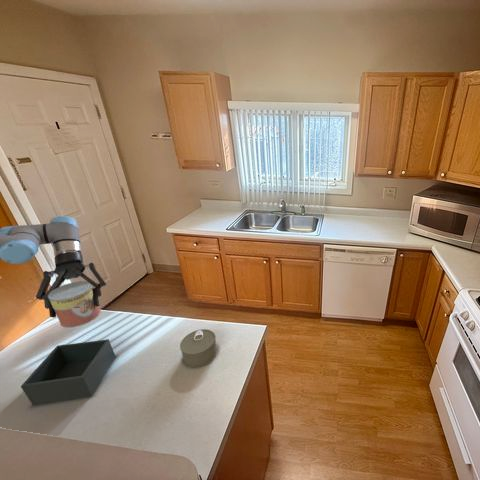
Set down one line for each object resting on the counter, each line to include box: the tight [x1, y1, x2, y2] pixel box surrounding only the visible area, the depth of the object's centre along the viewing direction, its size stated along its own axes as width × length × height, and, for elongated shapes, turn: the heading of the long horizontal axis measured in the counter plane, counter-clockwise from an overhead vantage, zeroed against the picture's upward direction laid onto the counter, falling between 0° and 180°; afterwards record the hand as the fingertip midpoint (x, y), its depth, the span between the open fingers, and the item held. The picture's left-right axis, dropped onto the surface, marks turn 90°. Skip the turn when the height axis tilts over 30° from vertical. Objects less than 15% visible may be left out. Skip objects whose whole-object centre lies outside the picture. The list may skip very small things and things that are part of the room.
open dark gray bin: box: [20, 338, 117, 406], centre depth 84 cm, size 15×15×9 cm
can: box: [179, 328, 218, 368], centre depth 95 cm, size 12×12×7 cm
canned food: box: [48, 280, 102, 329], centre depth 92 cm, size 11×11×12 cm
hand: (75, 311), depth 90 cm, fingers closed on canned food, 11 cm apart
